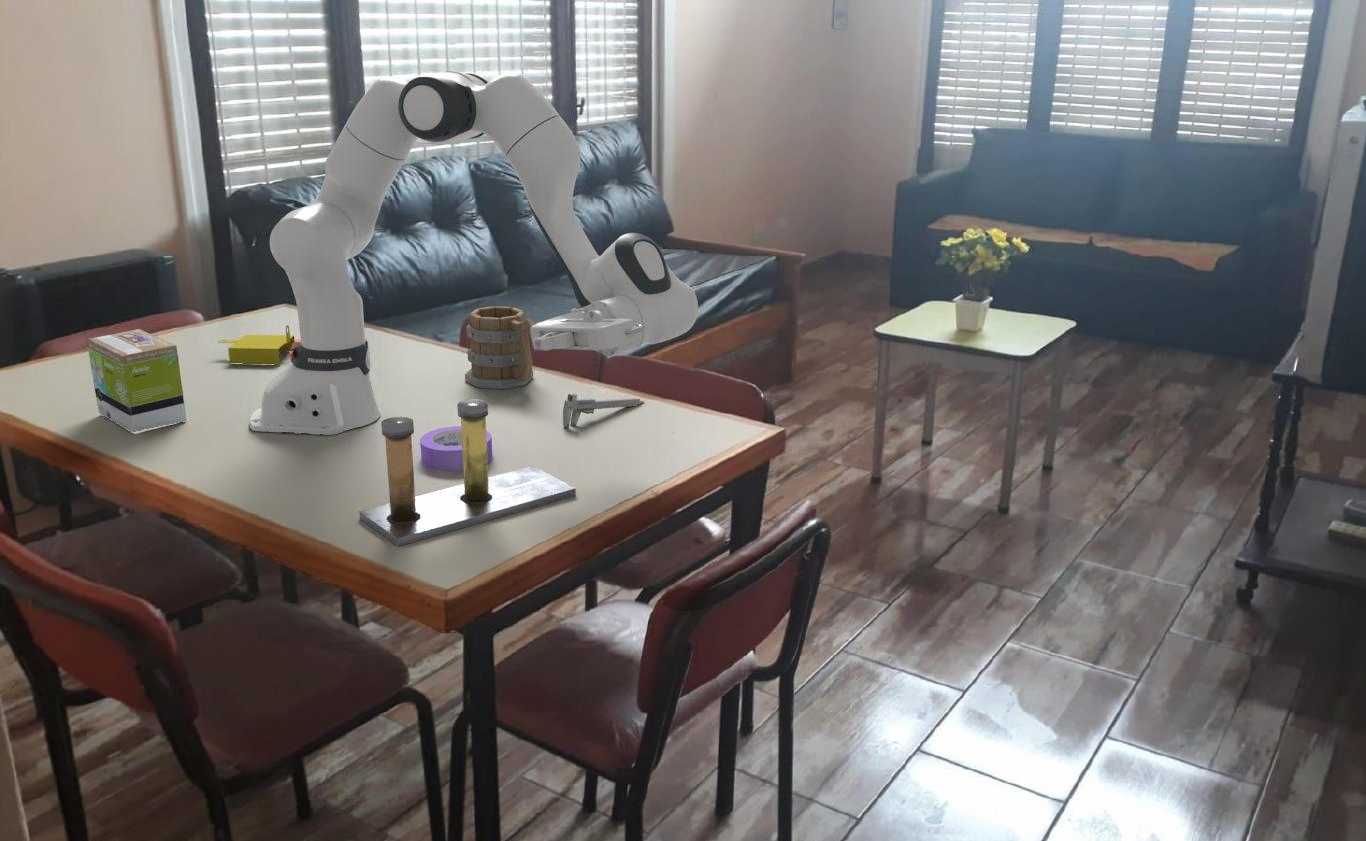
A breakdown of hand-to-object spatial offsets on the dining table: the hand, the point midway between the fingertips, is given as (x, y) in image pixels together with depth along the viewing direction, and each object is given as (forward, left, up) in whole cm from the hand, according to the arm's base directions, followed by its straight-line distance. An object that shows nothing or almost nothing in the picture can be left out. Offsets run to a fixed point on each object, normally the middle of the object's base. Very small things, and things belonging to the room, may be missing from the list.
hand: (538, 345), depth 181 cm
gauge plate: (-10, -7, -23) cm, 26 cm away
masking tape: (-14, +14, -24) cm, 31 cm away
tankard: (-8, +55, -23) cm, 60 cm away
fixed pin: (-19, -14, -22) cm, 32 cm away
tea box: (-72, +36, -23) cm, 84 cm away
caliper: (+11, +35, -24) cm, 44 cm away
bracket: (-62, +75, -24) cm, 100 cm away
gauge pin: (-9, -7, -22) cm, 25 cm away
